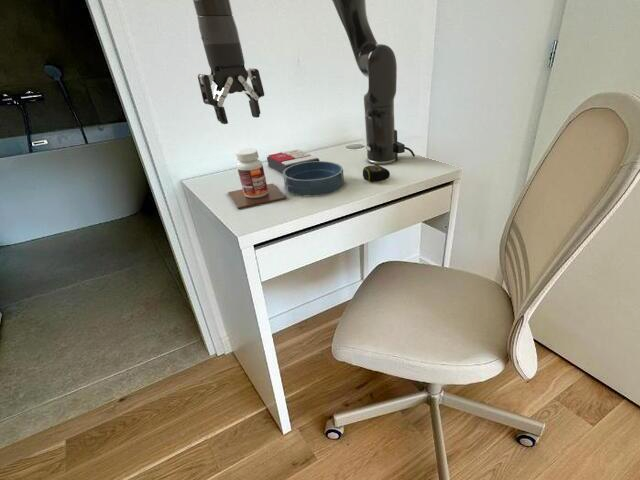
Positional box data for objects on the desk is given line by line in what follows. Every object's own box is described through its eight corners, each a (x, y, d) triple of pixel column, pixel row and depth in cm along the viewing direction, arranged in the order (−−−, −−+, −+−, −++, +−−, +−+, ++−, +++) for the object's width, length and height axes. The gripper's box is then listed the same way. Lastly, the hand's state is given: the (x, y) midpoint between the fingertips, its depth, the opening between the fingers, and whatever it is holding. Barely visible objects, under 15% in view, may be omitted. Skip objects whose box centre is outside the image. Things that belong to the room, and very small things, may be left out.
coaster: (272, 185, 110) (272, 183, 110) (286, 199, 102) (285, 197, 102) (228, 194, 105) (228, 191, 105) (238, 209, 97) (238, 207, 96)
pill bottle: (259, 200, 100) (249, 155, 93) (239, 197, 101) (227, 153, 95) (273, 191, 105) (264, 149, 98) (253, 189, 106) (243, 146, 100)
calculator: (297, 148, 128) (319, 156, 118) (300, 161, 130) (321, 170, 120) (265, 154, 122) (285, 163, 112) (268, 168, 125) (288, 178, 114)
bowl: (330, 172, 119) (329, 157, 116) (353, 189, 108) (352, 173, 105) (278, 182, 112) (275, 167, 109) (297, 201, 101) (294, 184, 98)
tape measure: (391, 181, 113) (390, 168, 110) (370, 186, 109) (369, 173, 107) (379, 174, 117) (378, 162, 115) (359, 179, 114) (358, 166, 112)
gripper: (199, 43, 77) (222, 128, 86) (260, 39, 87) (275, 116, 96) (180, 42, 81) (204, 124, 90) (240, 39, 90) (257, 113, 99)
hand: (240, 120), depth 93 cm, fingers open, 8 cm apart
